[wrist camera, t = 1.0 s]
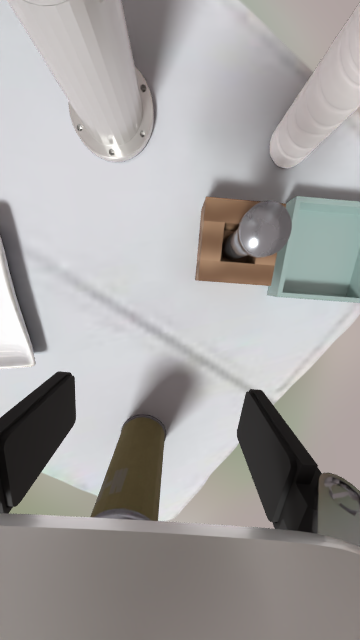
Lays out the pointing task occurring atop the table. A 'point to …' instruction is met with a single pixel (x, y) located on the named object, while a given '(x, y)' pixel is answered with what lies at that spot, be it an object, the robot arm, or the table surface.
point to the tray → (320, 252)
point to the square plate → (12, 324)
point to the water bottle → (322, 99)
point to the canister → (134, 473)
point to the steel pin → (259, 232)
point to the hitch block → (214, 228)
